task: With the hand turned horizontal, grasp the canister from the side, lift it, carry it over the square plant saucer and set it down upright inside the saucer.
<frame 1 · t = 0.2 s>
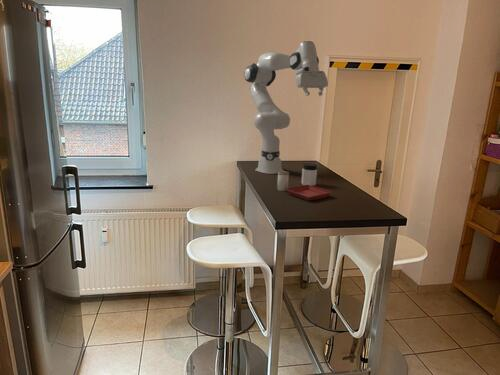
hand: (314, 95, 216), 52 cm above the table, tool tilted 20°, fingers open, 8 cm apart
canister: (282, 189, 219), on the table
plant saucer: (307, 196, 210), on the table
jar: (308, 184, 232), on the table
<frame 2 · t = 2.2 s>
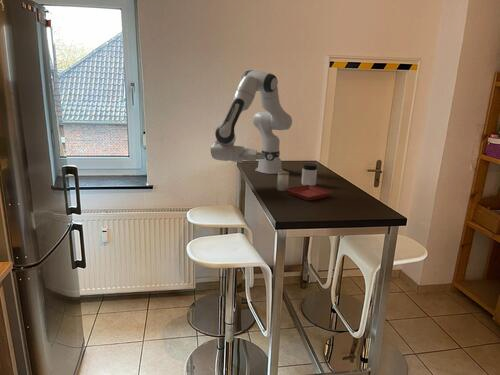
hand: (264, 156, 215), 18 cm above the table, tool horizontal, fingers open, 8 cm apart
nothing on the table moved.
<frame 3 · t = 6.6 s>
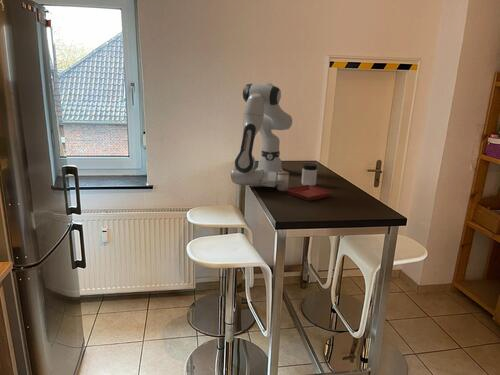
hand: (284, 180, 217), 6 cm above the table, tool horizontal, fingers closed on canister, 6 cm apart
canister: (282, 189, 219), on the table, touching gripper
everything else where it was.
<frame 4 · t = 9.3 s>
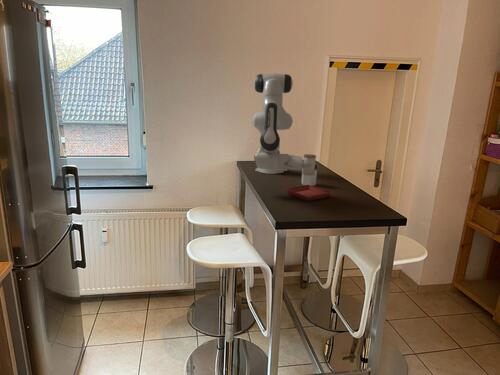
hand: (311, 163, 205), 17 cm above the table, tool horizontal, fingers closed on canister, 6 cm apart
canister: (308, 174, 206), point 12 cm above the table, touching gripper
everything else where it was.
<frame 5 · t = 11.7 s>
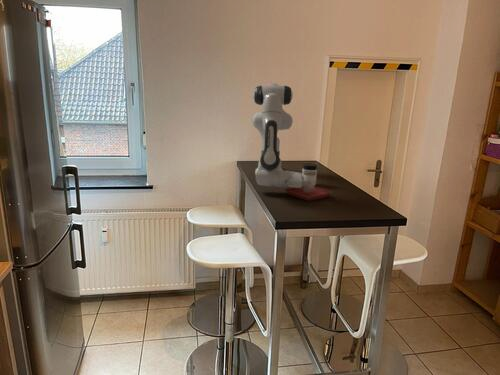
hand: (310, 180, 207), 8 cm above the table, tool horizontal, fingers closed on canister, 6 cm apart
canister: (308, 190, 209), point 3 cm above the table, touching gripper
everything else where it was.
when the fingers open (8 cm above the table, at t = 12.1 s): canister stays where it is, resting on plant saucer.
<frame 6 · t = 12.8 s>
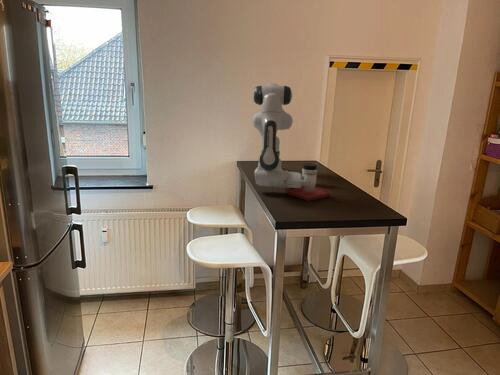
hand: (310, 180, 207), 8 cm above the table, tool horizontal, fingers open, 8 cm apart
canister: (308, 190, 209), point 3 cm above the table, touching plant saucer
plant saucer: (307, 196, 210), on the table, touching canister
everything else where it was.
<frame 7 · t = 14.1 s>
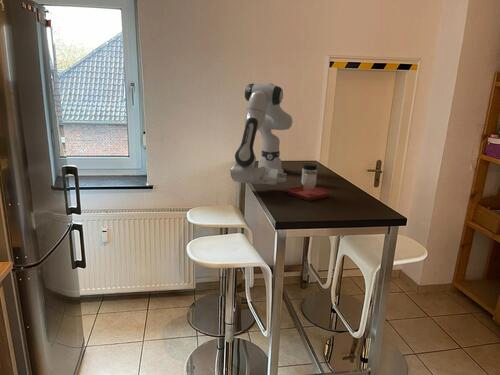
hand: (286, 177, 209), 9 cm above the table, tool horizontal, fingers open, 8 cm apart
nothing on the table moved.
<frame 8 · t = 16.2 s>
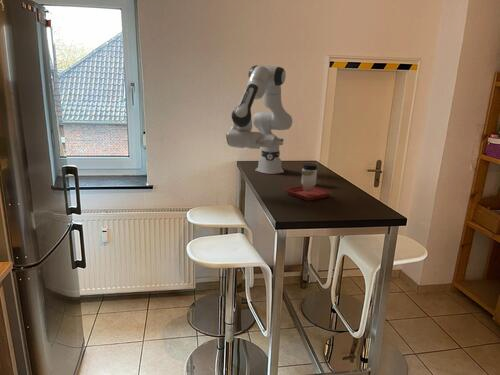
hand: (283, 141, 203), 28 cm above the table, tool horizontal, fingers open, 8 cm apart
canister: (308, 189, 209), point 3 cm above the table, tilted 8°, touching plant saucer
everything else where it was.
at the end: canister 0.1 cm from the plant saucer (horizontally); canister tilted 10°; the gripper is holding nothing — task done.
